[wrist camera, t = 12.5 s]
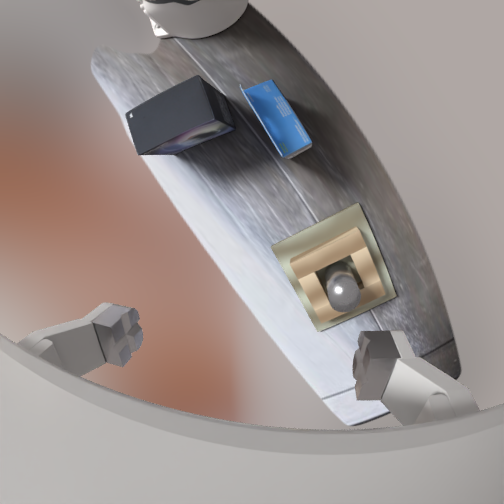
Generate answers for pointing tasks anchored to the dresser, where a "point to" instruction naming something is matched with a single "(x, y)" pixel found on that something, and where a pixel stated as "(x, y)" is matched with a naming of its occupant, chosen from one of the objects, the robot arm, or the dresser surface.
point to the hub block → (327, 252)
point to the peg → (342, 287)
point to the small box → (179, 118)
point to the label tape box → (278, 119)
